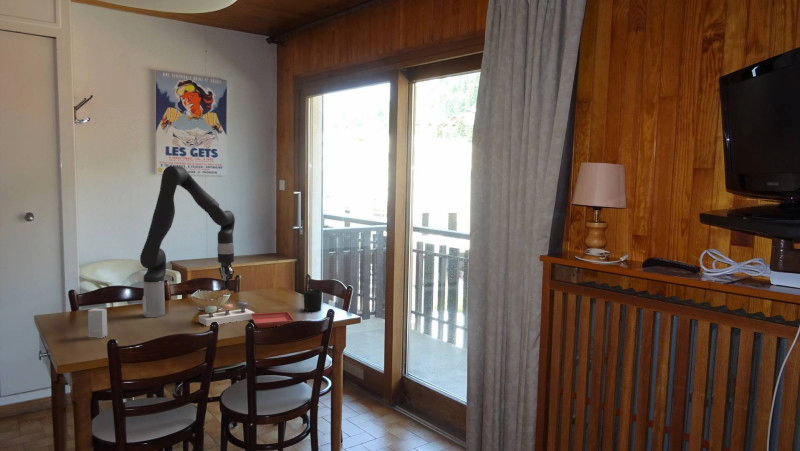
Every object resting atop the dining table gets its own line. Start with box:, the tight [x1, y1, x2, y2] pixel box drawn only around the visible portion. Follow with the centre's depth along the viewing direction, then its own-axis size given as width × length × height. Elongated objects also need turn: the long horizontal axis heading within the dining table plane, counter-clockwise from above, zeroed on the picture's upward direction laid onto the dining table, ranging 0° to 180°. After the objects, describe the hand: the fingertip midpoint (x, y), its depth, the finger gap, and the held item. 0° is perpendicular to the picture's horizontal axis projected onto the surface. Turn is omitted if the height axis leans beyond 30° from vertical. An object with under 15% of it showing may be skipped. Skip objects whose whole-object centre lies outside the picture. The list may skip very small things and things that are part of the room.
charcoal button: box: [237, 301, 249, 313], centre depth 274 cm, size 5×5×5 cm
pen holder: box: [303, 289, 323, 313], centre depth 292 cm, size 9×9×10 cm
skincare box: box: [87, 308, 108, 339], centre depth 237 cm, size 6×4×12 cm
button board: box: [198, 308, 256, 327], centre depth 269 cm, size 24×10×3 cm, turn 130°
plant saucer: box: [251, 311, 295, 329], centre depth 266 cm, size 18×18×3 cm
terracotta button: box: [221, 303, 234, 315], centre depth 268 cm, size 5×5×5 cm
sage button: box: [204, 305, 218, 317], centre depth 263 cm, size 5×5×5 cm
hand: (226, 287), depth 269 cm, fingers closed
